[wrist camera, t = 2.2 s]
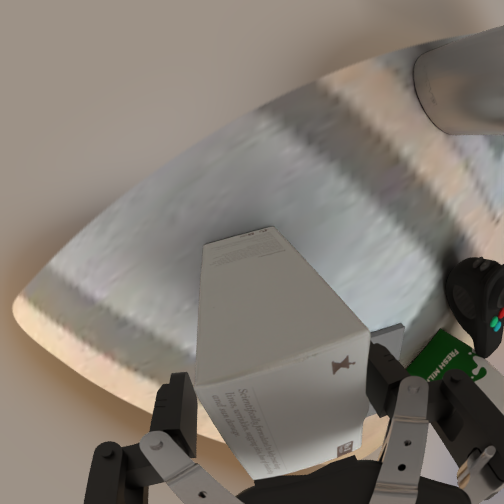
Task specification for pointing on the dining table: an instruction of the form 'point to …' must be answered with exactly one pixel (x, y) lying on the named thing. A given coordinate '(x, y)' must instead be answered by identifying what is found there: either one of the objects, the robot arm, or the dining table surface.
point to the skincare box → (278, 356)
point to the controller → (478, 301)
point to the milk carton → (458, 365)
